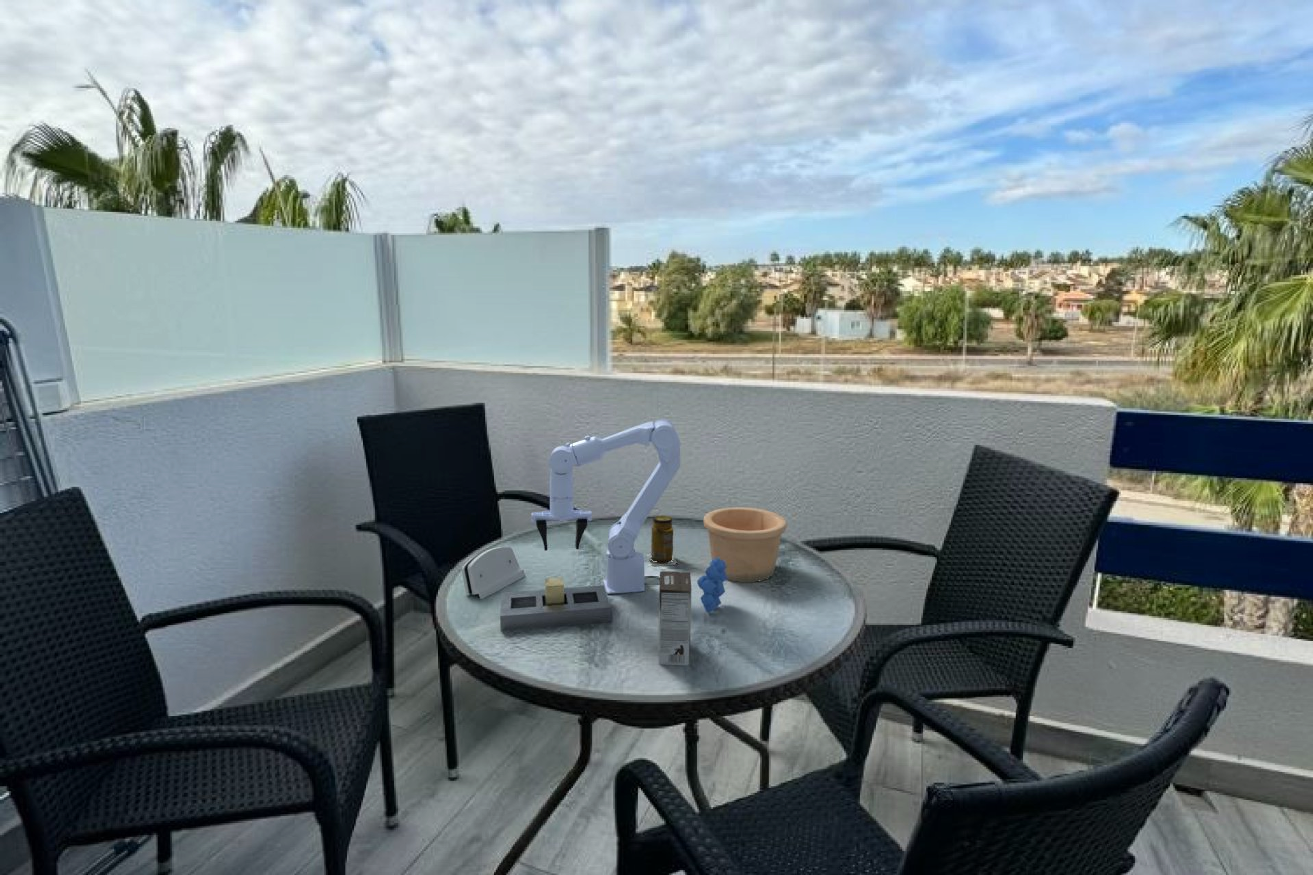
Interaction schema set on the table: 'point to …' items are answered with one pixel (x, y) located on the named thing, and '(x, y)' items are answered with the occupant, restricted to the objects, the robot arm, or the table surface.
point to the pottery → (745, 541)
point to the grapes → (713, 584)
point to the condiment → (662, 541)
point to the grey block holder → (554, 608)
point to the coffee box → (674, 618)
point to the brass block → (554, 591)
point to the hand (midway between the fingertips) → (561, 548)
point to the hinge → (491, 571)
